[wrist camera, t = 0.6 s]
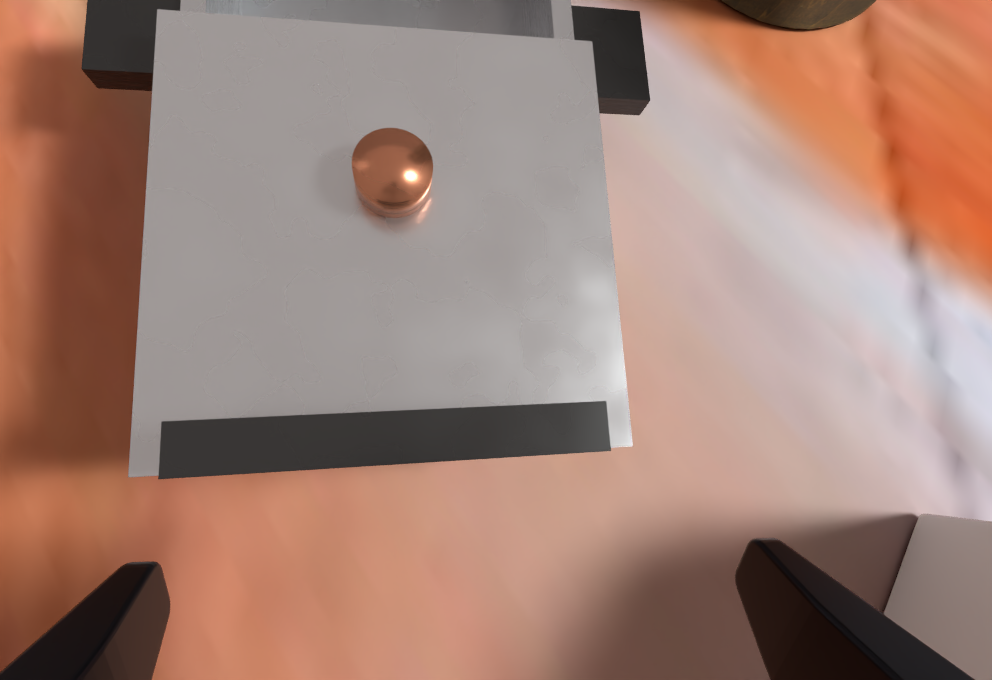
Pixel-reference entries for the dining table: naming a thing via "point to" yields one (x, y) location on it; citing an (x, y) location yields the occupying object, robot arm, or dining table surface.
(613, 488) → the dining table surface
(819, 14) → the apothecary jar
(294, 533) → the dining table surface
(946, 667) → the robot arm
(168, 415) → the lid
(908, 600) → the milk carton
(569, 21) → the grey recessed tray
